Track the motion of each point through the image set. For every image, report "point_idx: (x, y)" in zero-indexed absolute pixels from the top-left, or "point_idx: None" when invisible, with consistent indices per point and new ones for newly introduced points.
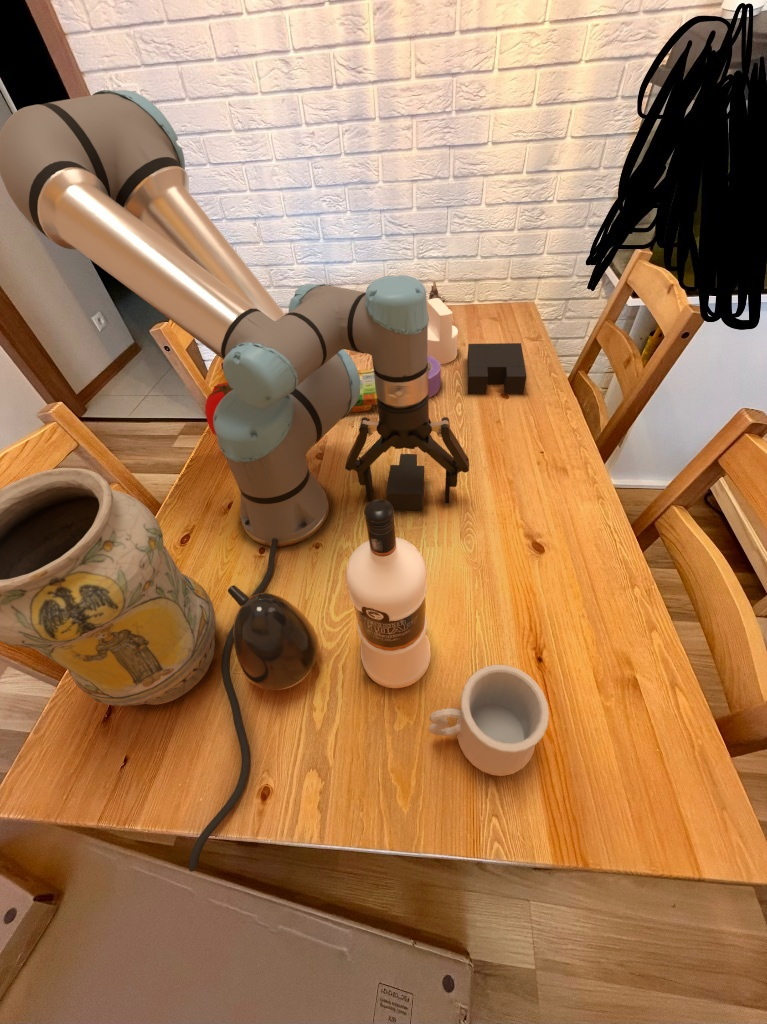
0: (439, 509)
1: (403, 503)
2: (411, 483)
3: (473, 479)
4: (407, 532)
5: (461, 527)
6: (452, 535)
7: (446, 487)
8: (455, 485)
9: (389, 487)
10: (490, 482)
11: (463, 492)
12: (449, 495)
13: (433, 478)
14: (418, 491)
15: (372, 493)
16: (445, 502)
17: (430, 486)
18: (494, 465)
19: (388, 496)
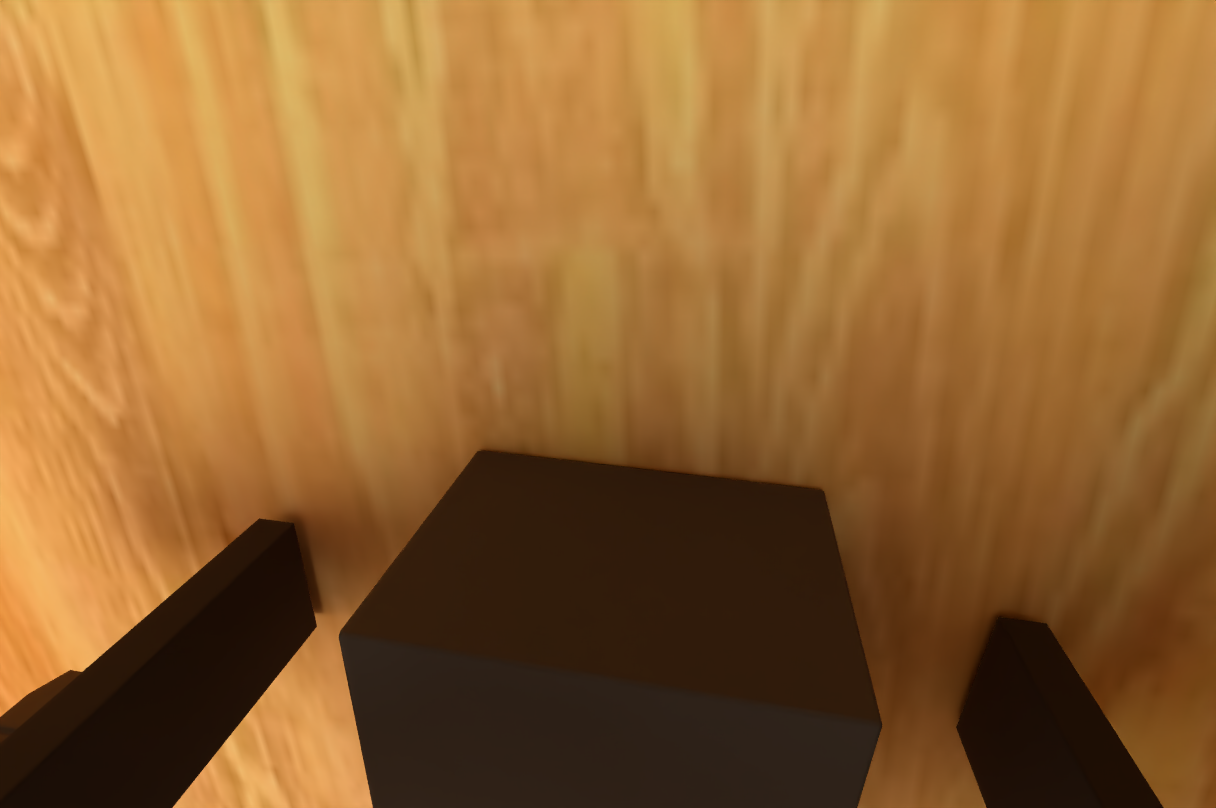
0: (335, 467)
1: (639, 541)
2: (505, 801)
3: None
4: (606, 180)
5: (103, 251)
6: (147, 143)
7: (111, 681)
8: (50, 689)
9: (820, 802)
10: (61, 662)
11: None
12: (184, 585)
13: None
14: (391, 678)
15: (981, 702)
16: (281, 528)
17: None
18: None
19: (837, 655)
